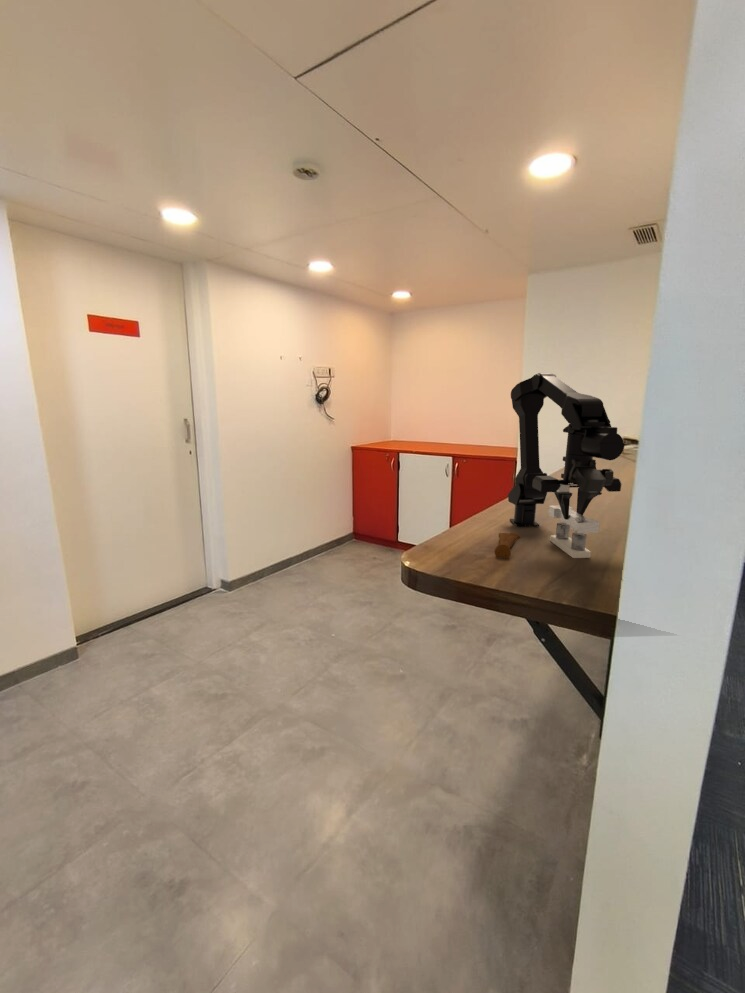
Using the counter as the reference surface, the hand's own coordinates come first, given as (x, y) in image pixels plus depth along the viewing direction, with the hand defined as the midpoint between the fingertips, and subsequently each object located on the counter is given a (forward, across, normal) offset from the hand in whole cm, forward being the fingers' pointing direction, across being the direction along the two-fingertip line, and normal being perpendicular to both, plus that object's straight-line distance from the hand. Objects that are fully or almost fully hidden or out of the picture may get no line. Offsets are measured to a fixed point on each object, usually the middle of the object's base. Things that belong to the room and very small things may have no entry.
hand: (572, 519), depth 106 cm
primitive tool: (+8, -14, +4) cm, 17 cm away
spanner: (+1, 0, 0) cm, 1 cm away
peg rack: (+8, 0, 0) cm, 8 cm away
